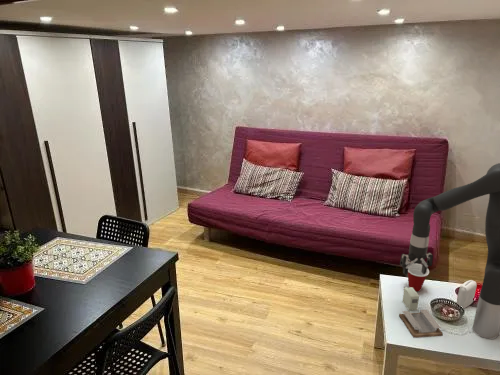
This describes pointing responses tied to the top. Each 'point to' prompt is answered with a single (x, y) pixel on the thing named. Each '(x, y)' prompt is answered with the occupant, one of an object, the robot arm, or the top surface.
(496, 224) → the robot arm
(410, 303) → the block
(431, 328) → the grey base plate
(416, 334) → the mounting board
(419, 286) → the plastic cup
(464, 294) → the white toy toaster
